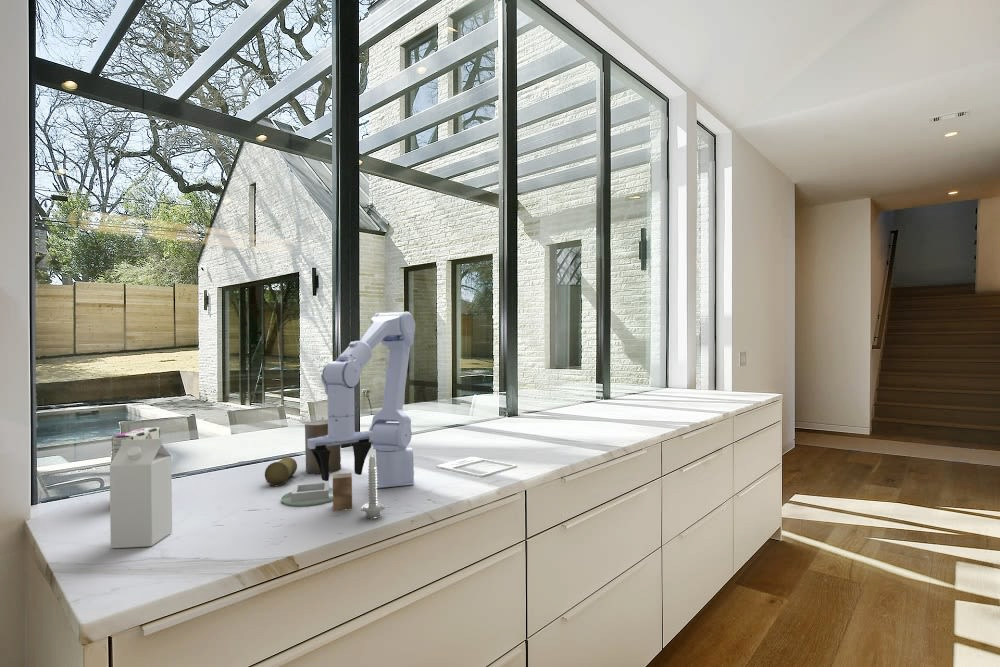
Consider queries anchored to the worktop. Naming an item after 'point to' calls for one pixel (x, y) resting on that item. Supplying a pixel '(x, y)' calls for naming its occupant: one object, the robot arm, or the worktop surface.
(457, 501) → the worktop surface
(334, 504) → the brown tall block
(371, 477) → the screw
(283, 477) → the olive cylinder
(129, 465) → the milk carton
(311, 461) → the pillar candle
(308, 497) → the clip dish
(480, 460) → the photo frame
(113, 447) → the candy bar box
